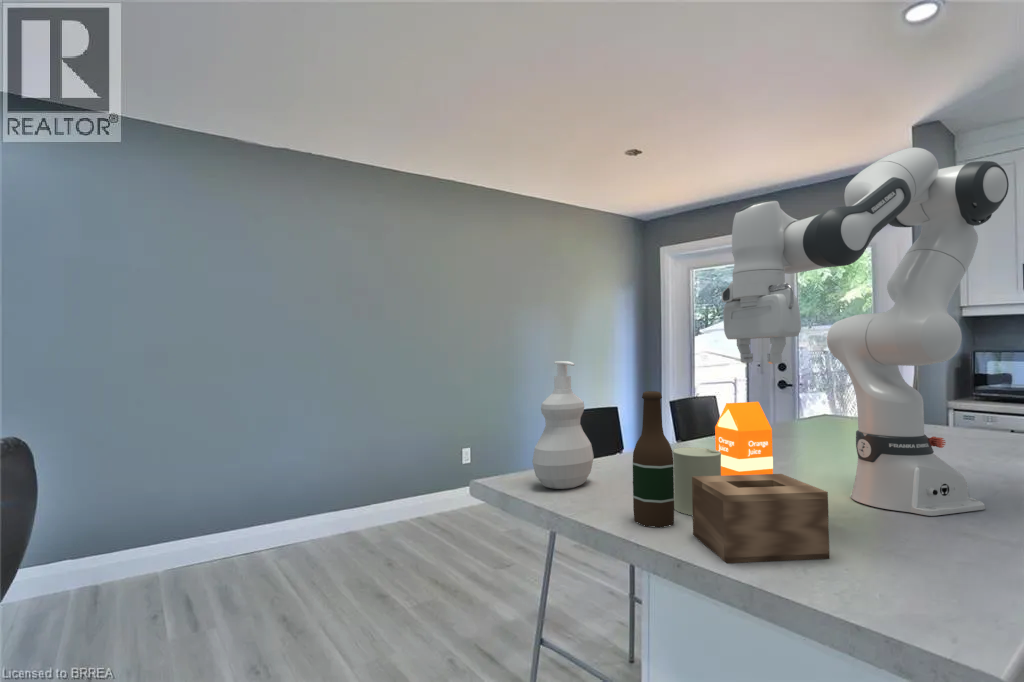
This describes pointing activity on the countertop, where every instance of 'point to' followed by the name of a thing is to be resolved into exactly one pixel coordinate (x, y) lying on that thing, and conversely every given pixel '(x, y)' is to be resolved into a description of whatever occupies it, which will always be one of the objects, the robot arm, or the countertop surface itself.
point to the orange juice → (744, 440)
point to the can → (692, 473)
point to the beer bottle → (653, 469)
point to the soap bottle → (562, 437)
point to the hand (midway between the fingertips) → (760, 363)
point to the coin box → (760, 518)
